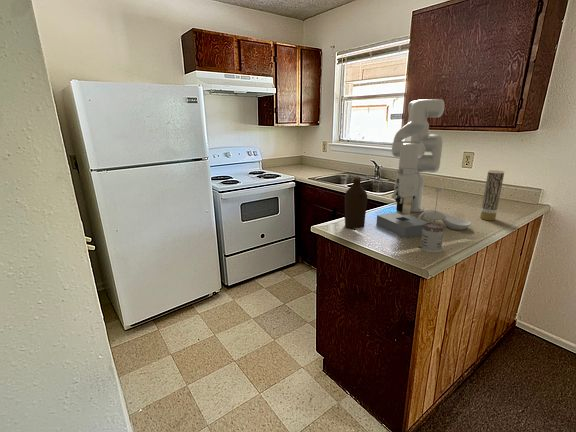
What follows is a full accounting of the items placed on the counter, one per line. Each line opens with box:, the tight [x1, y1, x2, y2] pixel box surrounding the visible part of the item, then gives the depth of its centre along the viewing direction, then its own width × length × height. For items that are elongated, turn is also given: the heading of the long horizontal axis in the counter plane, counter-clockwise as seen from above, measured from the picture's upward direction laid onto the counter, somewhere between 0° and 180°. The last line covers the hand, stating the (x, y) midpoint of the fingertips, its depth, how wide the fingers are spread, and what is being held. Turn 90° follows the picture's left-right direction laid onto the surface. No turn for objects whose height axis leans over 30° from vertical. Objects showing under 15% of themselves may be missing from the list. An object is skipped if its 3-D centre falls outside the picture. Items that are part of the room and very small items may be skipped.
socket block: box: [376, 211, 430, 239], centre depth 146 cm, size 20×14×6 cm
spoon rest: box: [418, 209, 472, 231], centre depth 152 cm, size 24×12×7 cm, turn 58°
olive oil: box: [344, 175, 368, 231], centre depth 150 cm, size 11×11×25 cm
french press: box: [418, 187, 446, 253], centre depth 125 cm, size 10×12×25 cm
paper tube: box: [480, 169, 505, 221], centre depth 159 cm, size 7×7×25 cm
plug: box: [396, 197, 412, 215], centre depth 143 cm, size 4×4×11 cm
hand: (403, 210), depth 144 cm, fingers closed on plug, 4 cm apart
